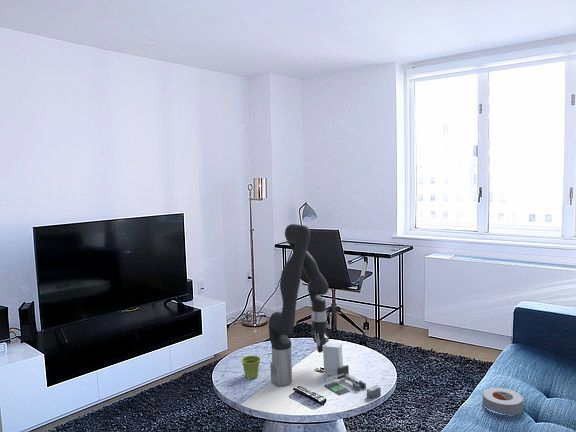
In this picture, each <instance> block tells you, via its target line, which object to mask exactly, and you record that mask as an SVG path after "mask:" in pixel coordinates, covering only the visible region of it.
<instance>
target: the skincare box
mask: <svg viewBox="0 0 576 432" xmlns="http://www.w3.org/2000/svg"><path fill="white" fill-rule="evenodd" d="M342 345H343V344H342V343H341V342H340V343H339V342H329V341H327V342H326V343H325V345H323V352H322V353H323V355H322V356H323V372H324V376H330V377H333V376H336V375H338V374H337V368H340V367H343V366H344V363H343V362H344V361H343V360H344V358H343V346H342Z"/></svg>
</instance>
